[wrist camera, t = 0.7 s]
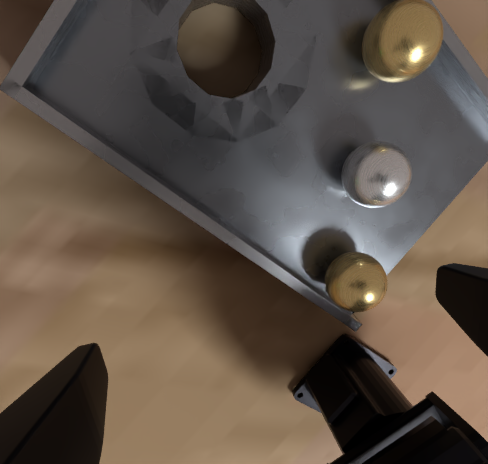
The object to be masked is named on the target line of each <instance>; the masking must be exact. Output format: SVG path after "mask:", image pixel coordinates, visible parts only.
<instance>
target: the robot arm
mask: <svg viewBox="0 0 488 464" xmlns="http://www.w3.org/2000/svg"><path fill="white" fill-rule="evenodd" d="M436 298H437V300H438V302H439V303H440V304H441V305H442V307H443V308H444V309H445V310H446V311H447V312H448V313H449V315H450V316H451V317H452V318H453V319H454V320H455V321H456V323H457V324H458V325H459V326H460V327H461V328H462V330H463V331H464V332H465V333H466V334H467V335H468V336H469V338H470V339H471V340H472V341H473V342H474V343H475V344H476V345H477V346H478V347H479V348H480V349H481V350H482V351H483V352H484V353H485V354H486V355H487V356H488V268H482V267H475V266H469V265H462V264H456V263H453V264H448V265H443V266H440V267H439V268H438V270H437V277H436ZM346 340H347V341H346ZM345 341H346V342H345ZM344 342H345V343H344ZM396 371H397V369H396V368H395V367H394V365H393V364H391V363H390V362H388V361H387V360H385V359H384V358H382V357H381V356H379V355H378V354H376V353H375V352H373V351H372V350H370V349H369V348H367V347H366V346H364V345H363V344H361V343H360V342H358V341H357V340H355V339H354V338H352V337H351V336H349V335H347V334H344V335H342V336H341V337H340V338H339V339H338V340H337V341H336V342H335V343H334V344H333V346H332V347H331V348H330V349H329V350H328V351H327V352H326V353H325V355H324V356H323V357H322V358H321V359H320V360H319V361H318V362H317V364H316V365H315V366H314V367H313V368H312V369H311V370H310V371H309V373H308V374H307V375H306V376H305V377H304V378H303V379H302V381H301V382H300V383H299V384H298V385H297V386H296V387H295V388H294V390H293V392H292V393H293V396H294V398H295V399H296V400H297V401H299V402H301V403H303V404H305V405H307V406H309V407H311V408H313V409H315V410H317V411H318V412H320V413H322V415H323V417H324V419H325V421H326V422H327V424H328V426H329V428H330V430H331V432H332V434H333V436H334V438H335V440H336V442H337V444H338V446H339V448H340V450H341V451H342V453H343V455H342V456H340V457H339V458H337V459H336V460H334V461H333V462H331V463H330V464H488V442H487V441H486V440H485V439H484V438H483V437H482V436H481V435H480V434H479V433H478V432H477V431H476V430H475V429H474V428H472V427H471V426H470V425H469V424H468V423H467V422H466V421H465V420H464V419H463V418H461V417H460V416H459V415H458V414H457V413H456V412H455V411H454V410H453V409H451V408H450V407H449V406H448V405H447V404H446V403H445V402H444V401H443V400H441V399H440V398H439V397H438V396H437V395H436V394H435V393H434V392H431V393H429V394H428V395H426V398H425V399H423V400H422V401H420V402H419V403H418V404H416V405H415V406H412V404H411V403H410V402H409V401H408V400H407V398H406V397H405V396H404V395H403V394H402V393H401V391H400V390H399V389H398V388H397V387H396V385H395V384H394V383H393V382H392V381H391V378H392V377H393V376H394V375H395V373H396ZM107 388H108V373H107V369H106V366H105V362H104V359H103V356H102V353H101V350H100V347H99V346H98V344H96V343H91V344H87V345H82V346H79V347H77V348H76V349H75V350H74V351H72V352H71V353H70V354H69V355H68V356H67V357H65V358H64V359H63V360H62V361H61V362H60V363H58V364H57V365H56V366H55V367H54V368H53V369H51V370H50V371H49V372H48V373H47V374H46V375H44V376H43V377H42V378H41V379H40V380H39V381H37V382H36V383H35V384H34V385H33V386H32V387H30V388H29V389H28V390H27V391H26V392H25V393H24V394H22V395H21V396H20V397H19V398H18V399H17V400H15V401H14V402H13V403H12V404H11V405H10V406H8V407H7V408H6V409H5V410H4V411H3V412H1V413H0V464H99V462H100V457H101V451H102V445H103V436H104V425H105V413H106V401H107ZM299 393H300V394H299ZM327 464H329V463H327Z"/></svg>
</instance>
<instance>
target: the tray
mask: <svg viewBox="0 0 488 464" xmlns="http://www.w3.org/2000/svg"><path fill="white" fill-rule="evenodd" d="M394 1H397V0H54V1H53V3H52V5H51V6H50V8H49V9H48V11H47V12H46V14H45V16H44V17H43V19H42V20H41V22H40V24H39V25H38V27H37V28H36V30H35V32H34V33H33V35H32V36H31V38H30V40H29V41H28V43H27V44H26V46H25V47H24V49H23V51H22V52H21V54H20V55H19V57H18V59H17V60H16V62H15V63H14V65H13V67H12V68H11V70H10V71H9V73H8V75H7V76H6V78H5V79H4V81H3V82H2V84H1V86H0V90H2V91H3V92H5V93H6V94H7V95H9V96H10V97H12V98H13V99H15V100H16V101H18V102H19V103H21V104H22V105H24V106H25V107H27V108H28V109H29V110H31V111H32V112H34V113H35V114H37V115H38V116H40V117H41V118H43V119H44V120H46V121H47V122H49V123H50V124H52V125H53V126H54V127H56V128H57V129H59V130H60V131H62V132H63V133H65V134H66V135H68V136H69V137H71V138H72V139H74V140H75V141H77V142H78V143H79V144H81V145H82V146H84V147H85V148H87V149H88V150H90V151H91V152H93V153H94V154H96V155H97V156H99V157H100V158H101V159H103V160H104V161H106V162H107V163H109V164H110V165H112V166H113V167H115V168H116V169H118V170H119V171H121V172H122V173H124V174H125V175H126V176H128V177H129V178H131V179H132V180H134V181H135V182H137V183H138V184H140V185H141V186H143V187H144V188H146V189H147V190H148V191H150V192H151V193H153V194H154V195H156V196H157V197H159V198H160V199H162V200H163V201H165V202H166V203H168V204H169V205H171V206H172V207H173V208H175V209H176V210H178V211H179V212H181V213H182V214H184V215H185V216H187V217H188V218H190V219H191V220H193V221H194V222H196V223H197V224H198V225H200V226H201V227H203V228H204V229H206V230H207V231H209V232H210V233H212V234H213V235H215V236H216V237H218V238H219V239H220V240H222V241H223V242H225V243H226V244H228V245H229V246H231V247H232V248H234V249H235V250H237V251H238V252H240V253H241V254H243V255H244V256H245V257H247V258H248V259H250V260H251V261H253V262H254V263H256V264H257V265H259V266H260V267H262V268H263V269H265V270H266V271H267V272H269V273H270V274H272V275H273V276H275V277H276V278H278V279H279V280H281V281H282V282H284V283H285V284H287V285H288V286H290V287H291V288H292V289H294V290H295V291H297V292H298V293H300V294H301V295H303V296H304V297H306V298H307V299H309V300H310V301H312V302H313V303H315V304H316V305H317V306H319V307H320V308H322V309H323V310H325V311H326V312H328V313H329V314H331V315H332V316H334V317H335V318H337V319H338V320H339V321H341V322H342V323H344V324H345V325H347V326H348V327H350V328H351V329H353V330H354V331H357V330H358V328H359V327H360V326H361V325H362V324H361V323H360V322H359V321H358V320H357V318H356V317H355V316H354V315H353V313H354V312H352V311H348V310H345V309H343V308H341V307H339V306H338V305H337V304H335V303H334V302H333V301H332V299H331V298H330V296H329V295H328V293H327V290H326V287H325V274H326V271H327V269H328V267H329V265H330V264H331V262H332V261H333V260H334V259H335V258H337V257H338V256H340V255H342V254H345V253H348V252H361V253H365V254H368V255H370V256H372V257H373V258H375V259H376V260H377V261H378V262H379V263H380V264H381V265H382V267H383V269H384V270H385V273H386V275H387V274H388V273H389V272H390V271H391V270H392V269H393V268H394V266H395V265H396V264H397V263H398V262H399V261H400V260H401V258H402V257H403V256H404V255H405V254H406V253H407V252H408V251H409V249H410V248H411V247H412V246H413V245H414V244H415V243H416V241H417V240H418V239H419V238H420V237H421V236H422V235H423V234H424V232H425V231H426V230H427V229H428V228H429V227H430V226H431V224H432V223H433V222H434V221H435V220H436V219H437V218H438V217H439V215H440V214H441V213H442V212H443V211H444V210H445V209H446V207H447V206H448V205H449V204H450V203H451V202H452V201H453V200H454V198H455V197H456V196H457V195H458V194H459V193H460V192H461V190H462V189H463V188H464V187H465V186H466V185H467V184H468V183H469V181H470V180H471V179H472V178H473V177H474V176H475V175H476V173H477V172H478V171H479V170H480V169H481V168H482V167H483V166H484V164H485V163H486V162H487V161H488V79H487V77H486V76H485V74H484V73H483V72H482V70H481V69H480V68H479V66H478V65H477V63H476V62H475V61H474V59H473V58H472V56H471V55H470V54H469V52H468V51H467V49H466V48H465V47H464V45H463V44H462V42H461V41H460V40H459V38H458V37H457V35H456V34H455V33H454V31H453V30H452V28H451V27H450V26H449V24H448V23H447V21H446V20H445V19H444V17H443V16H442V14H441V13H440V12H439V10H438V9H437V7H436V6H435V5H434V3H433V2H432V0H424V1H426V2H428V3H430V4H431V5H432V6H433V7H434V8H435V9H436V10H437V11H438V13H439V15H440V17H441V20H442V23H443V41H442V45H441V48H440V50H439V53H438V55H437V56H436V58H435V60H434V61H433V62H432V64H431V65H430V66H429V67H428V68H427V69H426V70H425V71H424V72H422V73H421V74H420V75H418V76H417V77H415V78H413V79H410V80H408V81H404V82H399V83H390V82H385V81H382V80H380V79H378V78H376V77H375V76H373V75H372V74H371V73H370V72H369V70H368V69H367V67H366V65H365V63H364V61H363V57H362V41H363V37H364V34H365V31H366V29H367V27H368V25H369V23H370V22H371V20H372V19H373V17H374V16H375V15H376V14H377V13H378V12H379V11H380V10H381V9H382V8H384V7H385V6H387V5H388V4H390V3H392V2H394ZM211 3H218V4H222V5H226V6H230V7H234V8H237V9H238V10H239V11H240V12H241V13H242V14H243V15H244V16H245V17H246V18H247V19H248V20H249V21H250V22H251V23H252V24H253V25H254V26H255V30H256V33H257V36H258V39H259V42H260V46H261V49H262V53H261V59H260V66H259V72H258V75H257V77H256V78H255V79H254V81H253V82H252V83H251V85H250V86H249V87H248V89H247V90H246V91H245V92H244V93H242V94H240V95H237V96H235V97H232V98H225V97H219V96H214V95H208V94H207V93H206V92H205V91H204V90H203V89H201V88H200V87H199V86H198V85H197V84H196V83H194V82H193V81H192V80H191V79H190V78H189V77H188V76H187V74H186V71H185V69H184V66H183V64H182V61H181V59H180V56H179V54H178V51H177V39H178V30H179V29H180V27H181V26H182V24H183V23H184V21H185V20H186V18H187V17H188V16H189V14H190V13H191V11H193V10H195V9H198V8H201V7H203V6H206V5H208V4H211ZM373 141H385V142H389V143H392V144H394V145H396V146H398V147H399V148H401V149H402V150H403V151H404V152H405V153H406V155H407V156H408V158H409V160H410V162H411V166H412V179H411V183H410V186H409V188H408V189H407V191H406V192H405V194H404V195H403V196H402V197H401V198H400V199H399V200H397V201H396V202H394V203H393V204H391V205H388V206H385V207H380V208H369V207H365V206H362V205H359V204H357V203H356V202H354V201H353V200H352V199H351V198H350V197H349V196H348V195H347V193H346V192H345V190H344V188H343V185H342V178H341V175H342V168H343V165H344V163H345V161H346V159H347V157H348V156H349V155H350V154H351V153H352V152H353V151H354V150H355V149H356V148H358V147H359V146H361V145H363V144H365V143H368V142H373Z"/></svg>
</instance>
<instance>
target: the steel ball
mask: <svg viewBox="0 0 488 464" xmlns="http://www.w3.org/2000/svg"><path fill="white" fill-rule="evenodd" d="M341 178H342V185H343V188H344V190H345V192H346V193H347V195H348V196H349V197H350V198H351V199H352V200H353V201H354V202H356V203H357V204H359V205H362V206H365V207H369V208H380V207H385V206H388V205H391V204H393V203H394V202H396V201H397V200H399V199H400V198H401V197H402V196H403V195H404V194H405V192H406V191H407V189H408V188H409V186H410V183H411V179H412V166H411V162H410V160H409V158H408V156H407V155H406V153H405V152H404V151H403V150H402V149H401V148H399V147H398V146H396V145H394V144H392V143H389V142H385V141H373V142H368V143H365V144H363V145H361V146H359V147H358V148H356V149H355V150H354V151H353V152H352V153H351V154H350V155H349V156H348V157H347V159H346V161H345V163H344V165H343V168H342V175H341Z"/></svg>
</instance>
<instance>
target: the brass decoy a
mask: <svg viewBox="0 0 488 464" xmlns="http://www.w3.org/2000/svg"><path fill="white" fill-rule="evenodd" d="M325 287H326V290H327V293H328V295H329V296H330V298H331V299H332V301H333V302H334V303H335V304H337V305H338V306H339V307H341V308H343V309H345V310H348V311H352V312H363V311H367V310H370V309H372V308H374V307H375V306H377V305H378V304H379V303H380V302H381V301H382V299H383V298H384V296H385V294H386V291H387V276H386V273H385V270H384V269H383V267H382V265H381V264H380V263H379V262H378V261H377V260H376V259H375V258H373V257H372V256H370V255H368V254H365V253H361V252H348V253H345V254H342V255H340V256H338V257H337V258H335V259H334V260H333V261H332V262H331V264H330V265H329V267H328V269H327V271H326V274H325Z"/></svg>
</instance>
